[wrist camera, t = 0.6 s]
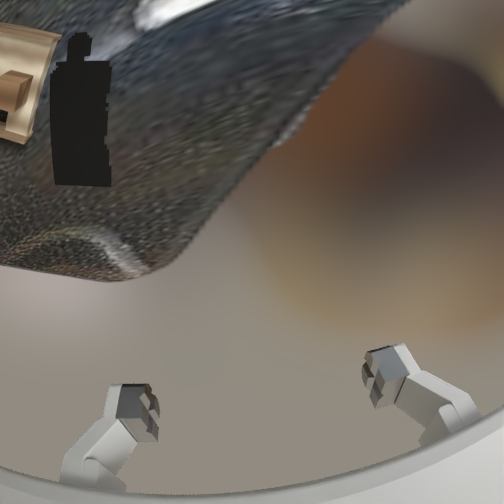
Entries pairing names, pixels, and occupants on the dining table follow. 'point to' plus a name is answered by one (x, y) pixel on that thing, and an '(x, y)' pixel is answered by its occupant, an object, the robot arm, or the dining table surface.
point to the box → (26, 61)
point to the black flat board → (80, 117)
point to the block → (14, 90)
